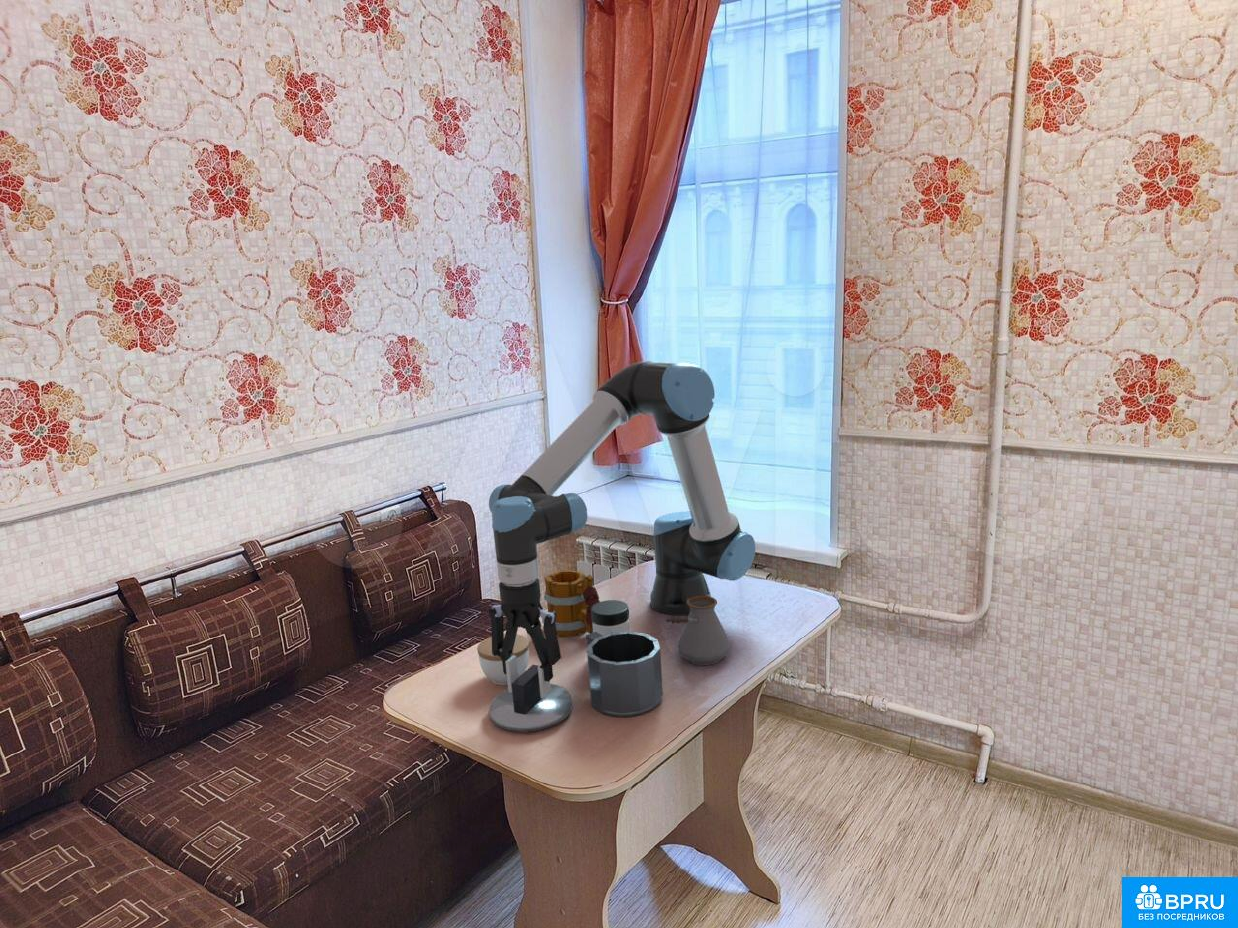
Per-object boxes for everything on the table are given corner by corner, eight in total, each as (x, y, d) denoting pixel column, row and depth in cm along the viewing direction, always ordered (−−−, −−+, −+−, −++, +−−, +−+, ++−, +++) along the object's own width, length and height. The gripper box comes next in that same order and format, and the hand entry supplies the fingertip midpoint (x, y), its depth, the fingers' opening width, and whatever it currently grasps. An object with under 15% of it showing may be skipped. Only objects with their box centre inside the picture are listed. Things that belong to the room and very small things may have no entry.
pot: (621, 666, 177) (618, 619, 174) (676, 699, 162) (673, 648, 159) (565, 688, 169) (561, 639, 166) (618, 725, 154) (614, 671, 152)
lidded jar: (540, 668, 178) (536, 628, 176) (518, 693, 168) (514, 650, 166) (495, 663, 182) (491, 624, 180) (471, 687, 172) (467, 646, 170)
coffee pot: (692, 641, 187) (690, 578, 183) (739, 651, 181) (737, 586, 177) (644, 683, 169) (640, 615, 166) (694, 695, 163) (691, 625, 160)
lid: (517, 687, 171) (514, 651, 169) (586, 699, 164) (584, 662, 162) (473, 727, 157) (469, 688, 155) (547, 742, 150) (543, 701, 148)
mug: (569, 613, 206) (564, 556, 202) (617, 630, 195) (612, 570, 191) (536, 628, 198) (531, 570, 195) (583, 647, 187) (579, 585, 184)
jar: (606, 671, 175) (602, 618, 172) (586, 657, 182) (582, 607, 179) (640, 658, 180) (637, 607, 177) (619, 645, 187) (616, 596, 184)
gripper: (464, 581, 155) (476, 693, 160) (554, 592, 147) (564, 709, 152) (486, 567, 162) (497, 675, 167) (574, 577, 154) (583, 690, 159)
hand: (529, 691), depth 160 cm, fingers open, 6 cm apart
